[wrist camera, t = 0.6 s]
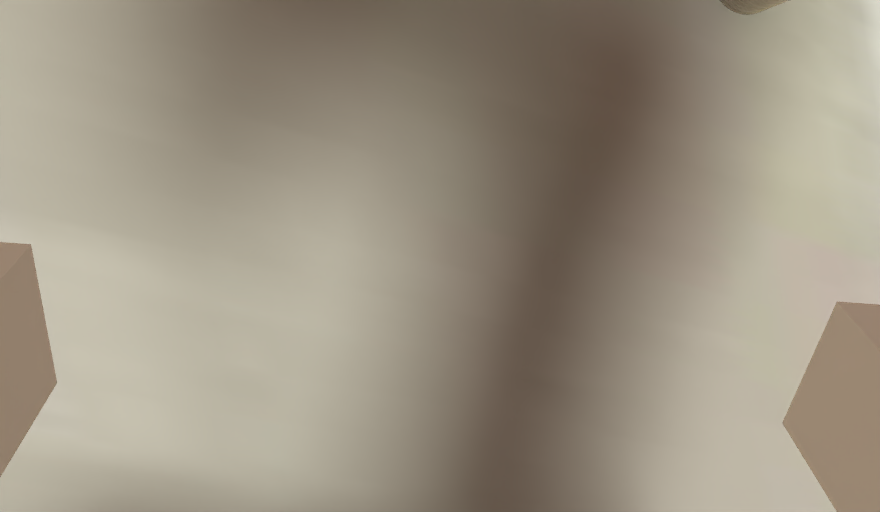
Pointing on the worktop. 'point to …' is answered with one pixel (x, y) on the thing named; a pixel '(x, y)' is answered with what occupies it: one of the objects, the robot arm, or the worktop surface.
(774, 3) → the steel pin
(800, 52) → the worktop surface
